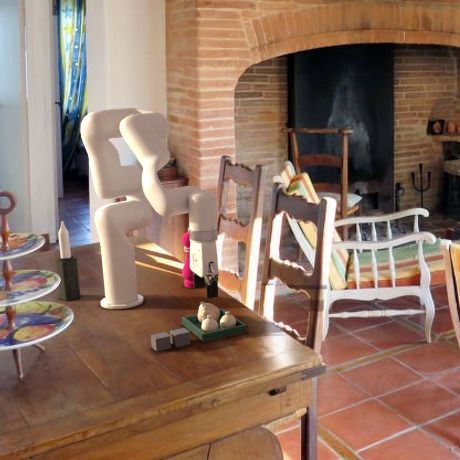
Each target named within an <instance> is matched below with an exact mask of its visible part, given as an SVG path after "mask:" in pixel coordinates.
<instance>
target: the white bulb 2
mask: <svg viewBox="0 0 460 460" xmlns="http://www.w3.org/2000/svg"><path fill="white" fill-rule="evenodd" d="M226 311H227V310H226ZM229 313H230V311H227V312H226V315H224V316H223V317H222V318H221V320H220V325H221V327H222V328H223V329H226V328H231V327H235V325H236V319H235V317H236V316H234V315H233V316H232V314H231V313H230V314H231V315H230V314H229Z"/></svg>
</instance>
